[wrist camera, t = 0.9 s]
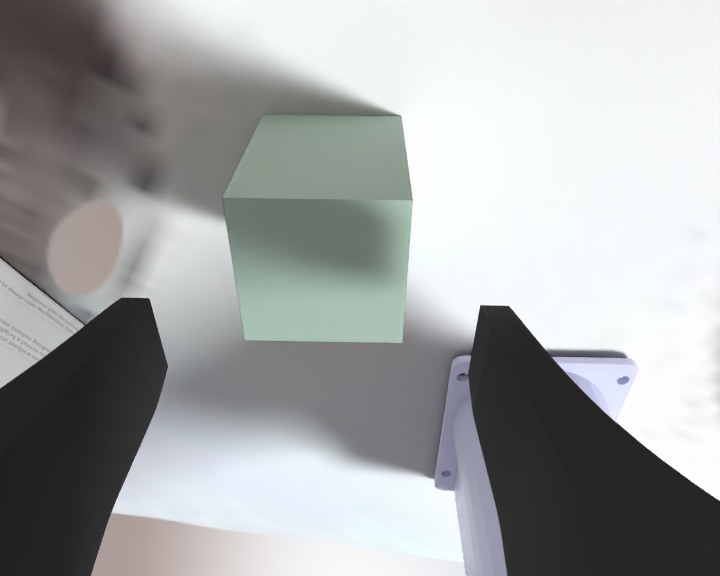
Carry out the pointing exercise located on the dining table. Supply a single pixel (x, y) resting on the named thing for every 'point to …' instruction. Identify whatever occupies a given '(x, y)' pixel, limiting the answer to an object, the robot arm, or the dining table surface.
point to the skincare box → (28, 324)
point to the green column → (321, 229)
